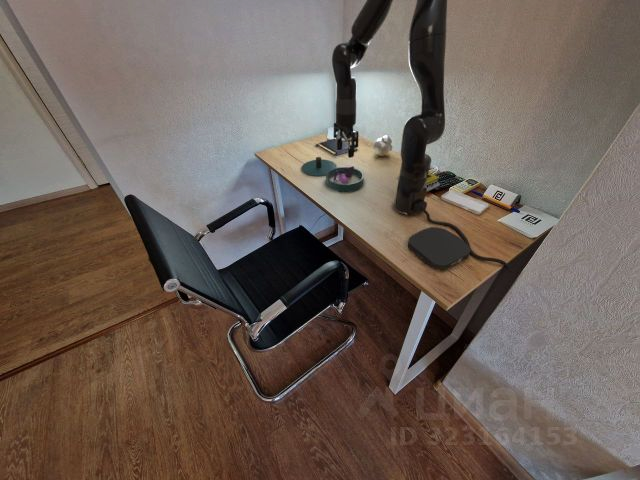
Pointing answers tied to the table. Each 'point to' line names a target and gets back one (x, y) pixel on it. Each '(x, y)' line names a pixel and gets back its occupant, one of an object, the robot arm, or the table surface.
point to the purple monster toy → (344, 177)
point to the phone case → (465, 201)
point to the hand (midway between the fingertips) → (345, 153)
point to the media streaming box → (438, 247)
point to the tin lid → (318, 167)
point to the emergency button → (430, 180)
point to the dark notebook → (334, 147)
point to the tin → (345, 187)
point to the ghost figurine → (382, 146)
